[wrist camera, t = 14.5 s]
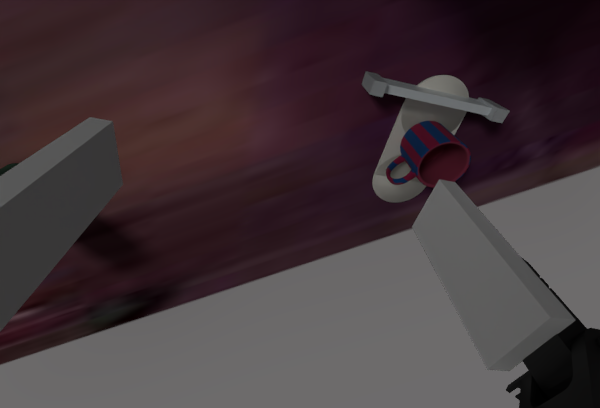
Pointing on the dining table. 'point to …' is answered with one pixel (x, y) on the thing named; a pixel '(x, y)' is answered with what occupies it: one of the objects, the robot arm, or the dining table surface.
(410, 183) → the pad
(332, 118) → the dining table surface
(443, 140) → the cup
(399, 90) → the divider wall
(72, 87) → the dining table surface
